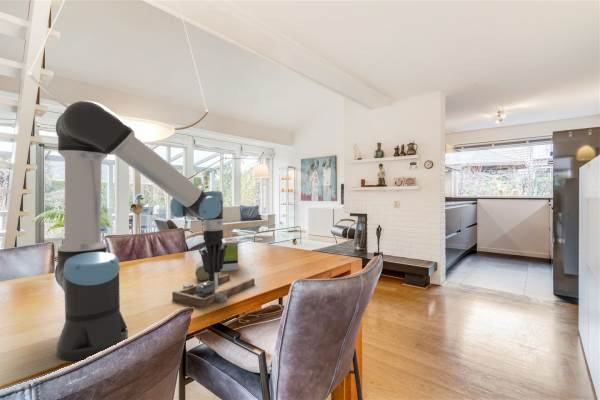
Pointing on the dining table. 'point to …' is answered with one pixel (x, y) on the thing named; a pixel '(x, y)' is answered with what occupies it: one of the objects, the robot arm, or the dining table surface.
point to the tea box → (230, 254)
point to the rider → (205, 290)
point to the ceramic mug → (201, 272)
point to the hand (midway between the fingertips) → (214, 288)
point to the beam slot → (220, 297)
